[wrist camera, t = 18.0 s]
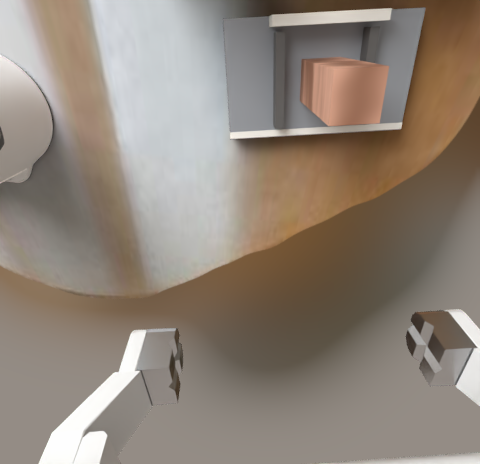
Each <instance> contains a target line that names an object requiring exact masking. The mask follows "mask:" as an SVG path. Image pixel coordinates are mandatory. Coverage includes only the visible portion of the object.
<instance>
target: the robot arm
mask: <svg viewBox="0 0 480 464" xmlns="http://www.w3.org/2000/svg"><path fill="white" fill-rule="evenodd" d="M52 132H53V124H52V117H51V113H50V109H49V106H48V104H47V102H46V100H45V98H44V96H43V94H42V92H41V91H40V89H39V88H38V86H37V85H36V84H35V82H34V81H33V80H32V79H31V78H30V77H29V76H28V75H27V74H26V73H25V72H24V71H23V70H22V69H21V68H20V67H19V66H17V65H16V64H15V63H13V62H12V61H10V60H9V59H7V58H5V57H3V56H2V55H0V184H1V183H3V182H5V181H6V182H15V183H21V182H24V181H26V180H27V179H28V178H29V176H30V174H31V171H32V167H33V164H34V163H35V162H36V161H37V160H38V159H39V158H40V157H41V156H42V155H43V154H44V153H45V152H46V150H47V148H48V147H49V145H50V142H51V138H52ZM411 322H412V323H413V325H412V326H411V327H410V328H409V329H408V331H407V334H406V342H407V346H408V349H409V351H410V353H411V355H412V357H413V358H415V359H416V360H418V361H419V362H420V367H419V369H420V370H421V372H422V374H423V376H424V377H425V379H426V381H427V382H428V384H429V385H430V386H448V385H449V386H451V385H456V387H457V388H458V389H459V390H460V391H462V392H463V393H464V394H465V395H467V396H468V397H469V398H470V399H472V400H473V401H474V402H475V403H476V404H478V405H479V406H480V329H479V328H478V327H477V326H476V325H475V324H474V323H473V321H472V320H471V319H470V318H469V317H468V316H467V314H466V313H465V312H464V311H462V310H460V309H455V310H444V311H443V310H439V311H426V312H415V313H414V314H413V315H412V318H411ZM182 367H183V350H182V344H181V343H179V331H178V329H177V328H169V329H148V330H133V332H132V333H131V335H130V338H129V341H128V344H127V347H126V350H125V353H124V357H123V360H122V363H121V366H120V369H119V372H114V373H113V374H112V375H111V376H110V377H109V378H108V379H107V380H106V381H105V382H104V383H103V384H102V385H101V386H100V387H99V388H98V389H97V390H96V391H95V392H93V394H91V395H90V396H89V398H87V399H86V400H85V401H84V402H83V403H82V404H81V405H80V406H79V407H78V408H77V409H76V410H75V411H74V412H73V413H72V414H71V415H70V416H69V417H68V418H67V419H66V420H65V421H64V422H63V423H62V424H61V425H60V426H59V427H58V428H57V429H56V430H55V431H54V432H52V434H51V437H50V439H49V441H48V443H47V446H46V448H45V450H44V453H43V455H42V457H41V459H40V462H39V464H121V462H120V460H119V458H118V455H119V454H120V452H121V451H122V449H123V448H124V447H125V445H126V444H127V442H128V441H129V440H130V438H131V437H132V435H133V434H134V432H135V431H136V430H137V428H138V427H139V425H140V424H141V422H142V421H143V420H144V418H145V417H146V415H147V414H148V413H149V411H150V410H151V408H152V406H153V405H164V404H174V403H178V399H179V391H180V381H179V375H180V374H181V373H182ZM314 464H480V452H474V453H460V454H445V455H432V456H417V457H402V458H387V459H372V460H360V461H359V460H358V461H343V462H329V463H314Z"/></svg>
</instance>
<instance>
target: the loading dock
mask: <svg viewBox="0 0 480 464" xmlns="http://www.w3.org/2000/svg"><path fill="white" fill-rule="evenodd" d="M424 13H425V8H408V9H392V8H385V9H366V10H348V11H330V12H312V13H294V14H276V15H271V16H263V17H245V18H227V19H223V29H224V45H225V61H226V77H227V93H228V109H229V125H230V140H231V139H248V138H265V137H282V136H299V135H316V134H333V133H350V132H367V131H385V130H401V127H402V120H403V115H404V111H405V106H406V101H407V96H408V91H409V86H410V81H411V76H412V72H413V67H414V62H415V57H416V52H417V47H418V42H419V37H420V33H421V28H422V23H423V18H424ZM329 57H344V58H349V59H355V60H360V61H365V62H370V63H376V64H381V65H386V66H389V71H388V77H387V83H386V89H385V94H384V100H383V106H382V112H381V118H380V123H376V124H359V125H342V126H328V125H327V124H325V123H324V122H323V121H322V120H321V119H320V118H319V117H318V116H316V115H315V114H314V113H313V112H312V111H311V110H310V109H308V108H307V107H306V106H305V105H304V104H303V103H302V102H301V101H300V83H301V60H302V59H312V58H329Z"/></svg>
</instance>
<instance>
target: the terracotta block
mask: <svg viewBox="0 0 480 464" xmlns="http://www.w3.org/2000/svg"><path fill="white" fill-rule="evenodd" d="M388 71H389V66H386V65H381V64H376V63H370V62H365V61H360V60H355V59H349V58H344V57H329V58H312V59H302V60H301V83H300V101H301V102H302V103H303V104H304V105H305V106H306V107H307V108H308V109H310V110H311V111H312V112H313V113H314V114H315V115H316V116H318V117H319V118H320V119H321V120H322V121H323V122H324V123H325V124H327V125H328V126H342V125H359V124H376V123H380V118H381V112H382V106H383V100H384V94H385V89H386V83H387V77H388Z"/></svg>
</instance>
